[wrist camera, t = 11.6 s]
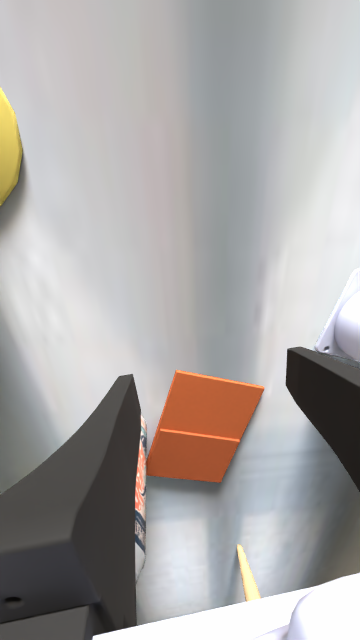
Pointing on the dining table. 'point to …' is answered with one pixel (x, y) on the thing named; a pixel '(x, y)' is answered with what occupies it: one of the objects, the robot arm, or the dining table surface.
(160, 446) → the orange stepped block
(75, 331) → the dining table surface
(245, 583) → the ice cream cone
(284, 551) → the dining table surface
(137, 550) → the beer can
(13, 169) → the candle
